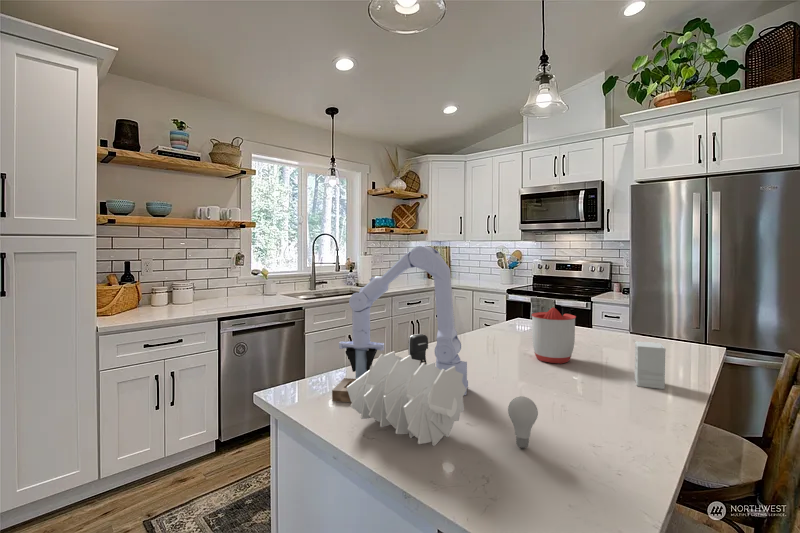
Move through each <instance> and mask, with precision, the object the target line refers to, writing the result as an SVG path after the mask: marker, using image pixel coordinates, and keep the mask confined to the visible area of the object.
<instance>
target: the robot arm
mask: <svg viewBox="0 0 800 533" xmlns="http://www.w3.org/2000/svg"><path fill="white" fill-rule="evenodd" d="M443 258H444V257H442V255H441V253H440V252H439V251H438V250H437V249H435V248H434V247H432V246H428V245H427V246H426V245H425V246H421V245H419V246H415V247H413V248H412V249H411V251H408V252H407V253H405V254H404V255H403V256H401V257H400V258H399V259H398V261H396V263H394V264H393V265H392V266H391V267H390V268H389V269H388V270H387V271H386V272H385V273H383V275H381V276H378V275H376V276H371V277H370V278H369V281H368V283H367V284H365V285H364V286H362V287H360V288H359V292H354V293H352V295H351V296H350V298H349V299H348V300H349V301H348V303H349V304H348V305H349V307H350V308H351V310H352V316H351V317H352V319H351V321H352V323H351V324H352V331H351V332H352V334H351V335H352V341H351V340H350V341H342V340H341V341H339V342H338V349H341V350H342V349H346V350H345V355H346V356H347V358H348V360H349V362H350V365H351V371H352V373H356V371H355V349H368V351H367V352H366V355H367V371H368V370H370V366H373V361H374V359H375V357H376V354H377V351H382V352H383V351H384V350H385V343H384V342H375V341H371V307H372V306H373V304H374V302H376V301H377V300H378V299H380V297H382V296H383V295H384V294H386V292H388V291H389V285H390V284H391V283H392V282H393V281H394V280H396V279H397V278H398V277H399V276H400V275H402V274H404V273H405V272H407V270H410V269H413V268H418V269H420V270H423V271H425V272H426V273H428V274H429V275H430V276H432V277H433V283H434V295H435V296H434V297H435V298H434V299H435V310H436V320H437V322H436V323H437V334H436V345H435V347H434V356H435V358H436V359H435V366H436V367H437V368H438V369H440V370H442V369H445V370H447V369H449V368H451V367H453V366H455V369H456V371H457V372H459V373H462V374H463V378H462V382H463V384H464V386H465V388H466V392H465V394H464V396H466V395H467V392H468V390H467V389H468V387H469V380H468V361H465V360H464V361H463V360H461V357H460V356H459V353H460V351H461V349H462V342H461V341H460V339H459V336H458V331H457V329H456V327H455V316H454V315H455V314H454V312H455V311H454V302H453V288H452V276H451V268H450V267H449V265H448V264H447V263H446V261H445V259H443Z"/></svg>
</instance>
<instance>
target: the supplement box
mask: <svg viewBox="0 0 800 533" xmlns="http://www.w3.org/2000/svg"><path fill="white" fill-rule="evenodd" d="M666 350H667V349H666V348H665V346H664V345H663V344H662V343H661V342H653V341H652V342H651V341H650V342H649V341H637V340H636V341H634V381H635V383H636V386H637V387H641V388H648V389H649V388H650V389H658V390H665V388H666V387H665V382H666V378H665V377H666V376H665V375H666Z"/></svg>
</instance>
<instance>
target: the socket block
mask: <svg viewBox="0 0 800 533" xmlns="http://www.w3.org/2000/svg"><path fill="white" fill-rule="evenodd" d="M355 380H356V378H345V377H344V378H343V379H342V380H341V381H339V383H338V384H337V385H336V386H335V387H334V388H333V389H332V390H331V400H332V402H342V403H343V402H345V403H352V402H351V400H350V397H349V394H348V390H347V386H348V385H350V384H351V383H352V382H354V381H355Z"/></svg>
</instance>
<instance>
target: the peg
mask: <svg viewBox="0 0 800 533" xmlns="http://www.w3.org/2000/svg"><path fill="white" fill-rule="evenodd" d="M367 351H368V349H355V379H358V378H359V377H360V376H362V375H363V374H364V373H366V372H367V355H366V352H367Z"/></svg>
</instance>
